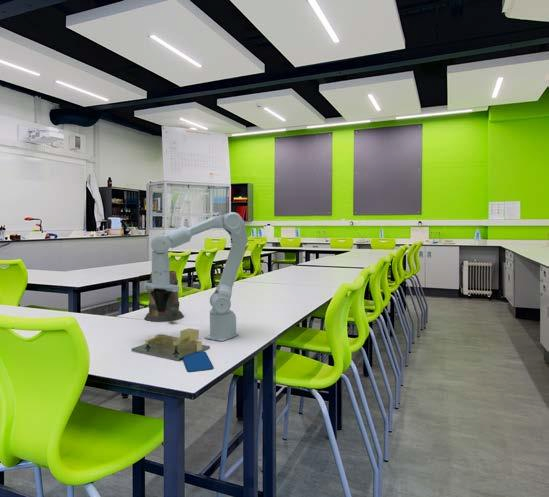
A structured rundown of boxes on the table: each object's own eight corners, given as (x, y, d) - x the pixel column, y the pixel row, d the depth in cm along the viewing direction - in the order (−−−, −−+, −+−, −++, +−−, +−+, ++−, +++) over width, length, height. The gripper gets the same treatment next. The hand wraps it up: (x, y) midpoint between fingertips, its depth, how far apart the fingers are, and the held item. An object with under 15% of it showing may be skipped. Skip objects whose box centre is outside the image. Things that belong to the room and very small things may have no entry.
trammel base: (164, 340, 138) (164, 330, 138) (209, 348, 128) (209, 338, 128) (131, 350, 126) (131, 340, 126) (178, 361, 116) (178, 350, 116)
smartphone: (187, 371, 107) (181, 353, 121) (187, 375, 107) (181, 356, 121) (214, 368, 109) (205, 351, 123) (214, 371, 109) (205, 354, 123)
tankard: (139, 316, 176) (138, 270, 175) (177, 311, 185) (176, 268, 184) (153, 327, 156) (152, 276, 155) (194, 322, 165) (194, 273, 163)
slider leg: (189, 344, 128) (189, 328, 128) (198, 346, 126) (198, 329, 126) (170, 352, 121) (169, 334, 121) (179, 354, 119) (179, 336, 119)
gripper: (136, 271, 135) (137, 311, 135) (167, 273, 127) (168, 316, 128) (152, 269, 141) (153, 307, 142) (183, 271, 134) (183, 312, 134)
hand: (161, 311), depth 135 cm, fingers closed
